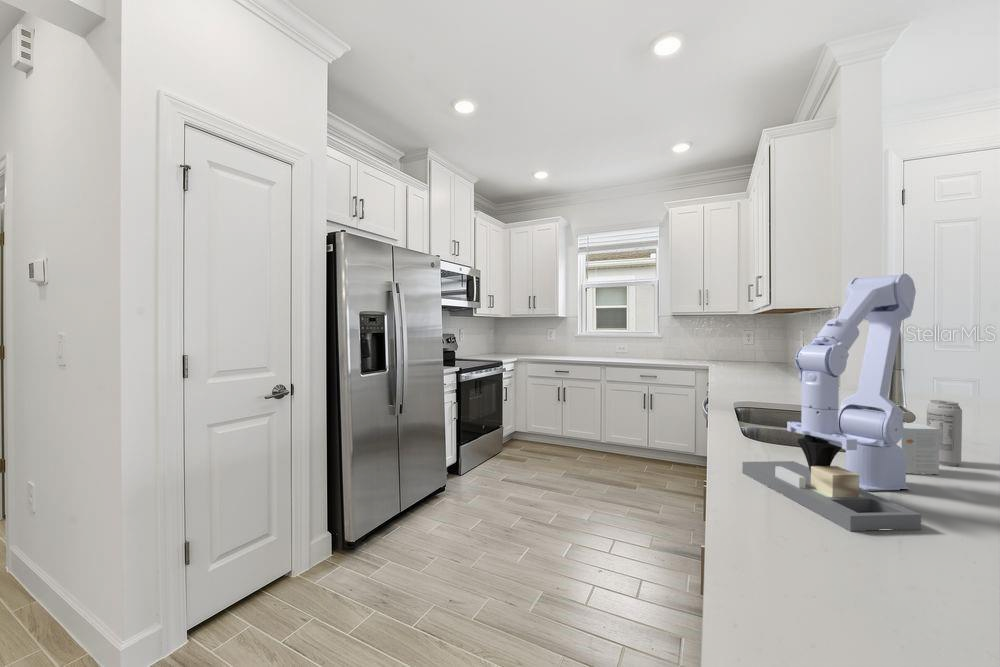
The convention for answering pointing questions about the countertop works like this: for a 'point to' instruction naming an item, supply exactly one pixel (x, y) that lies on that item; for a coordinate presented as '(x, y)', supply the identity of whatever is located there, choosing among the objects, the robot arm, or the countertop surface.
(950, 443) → the energy drink can
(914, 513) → the grey long flat tray
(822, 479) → the block
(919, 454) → the small box
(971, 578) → the countertop surface
